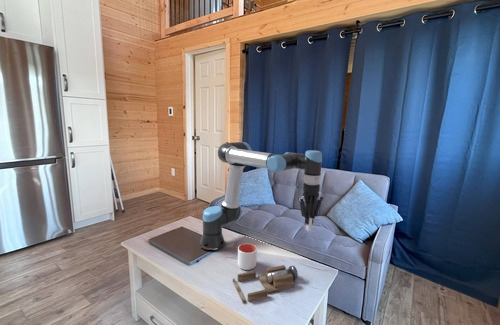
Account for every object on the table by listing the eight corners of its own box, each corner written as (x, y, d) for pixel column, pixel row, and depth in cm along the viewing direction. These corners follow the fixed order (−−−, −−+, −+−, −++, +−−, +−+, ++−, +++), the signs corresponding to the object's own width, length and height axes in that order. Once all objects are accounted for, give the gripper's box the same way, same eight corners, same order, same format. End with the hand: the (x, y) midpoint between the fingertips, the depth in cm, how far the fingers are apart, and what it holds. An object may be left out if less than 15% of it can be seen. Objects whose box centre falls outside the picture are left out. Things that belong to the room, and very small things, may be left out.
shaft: (264, 279, 115) (265, 268, 114) (290, 274, 120) (291, 263, 119) (270, 287, 110) (270, 276, 109) (297, 281, 115) (298, 270, 114)
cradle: (232, 281, 114) (232, 271, 113) (280, 270, 123) (281, 261, 123) (242, 303, 100) (243, 292, 99) (296, 289, 109) (296, 279, 108)
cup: (254, 272, 121) (255, 254, 120) (235, 269, 123) (235, 251, 122) (257, 261, 131) (258, 244, 129) (240, 259, 133) (240, 242, 131)
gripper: (304, 186, 107) (301, 235, 110) (328, 184, 111) (324, 231, 115) (295, 182, 113) (292, 228, 117) (318, 180, 118) (314, 225, 122)
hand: (308, 230), depth 116 cm, fingers closed
